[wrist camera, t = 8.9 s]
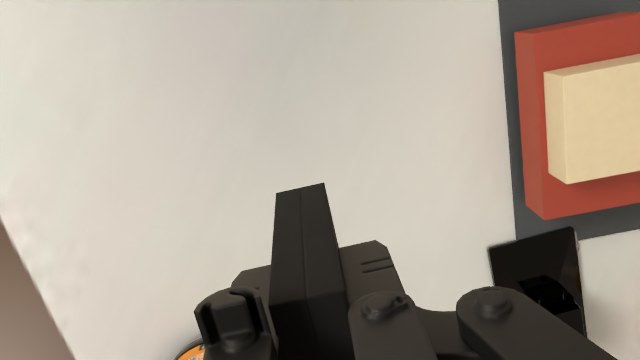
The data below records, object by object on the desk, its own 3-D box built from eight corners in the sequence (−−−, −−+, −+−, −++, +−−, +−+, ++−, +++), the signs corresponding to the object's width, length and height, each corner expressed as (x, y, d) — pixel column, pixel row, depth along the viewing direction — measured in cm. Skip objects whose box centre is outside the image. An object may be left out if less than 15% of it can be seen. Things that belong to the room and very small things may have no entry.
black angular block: (486, 246, 44) (508, 274, 39) (574, 223, 43) (607, 248, 39) (509, 370, 47) (531, 408, 43) (590, 349, 47) (621, 385, 43)
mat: (497, -5, 38) (498, -5, 38) (721, -48, 38) (724, -48, 38) (517, 250, 44) (518, 251, 44) (710, 214, 44) (711, 214, 44)
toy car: (553, 35, 32) (678, 12, 32) (507, 31, 38) (610, 11, 38) (561, 235, 36) (673, 214, 36) (519, 199, 42) (612, 182, 42)
